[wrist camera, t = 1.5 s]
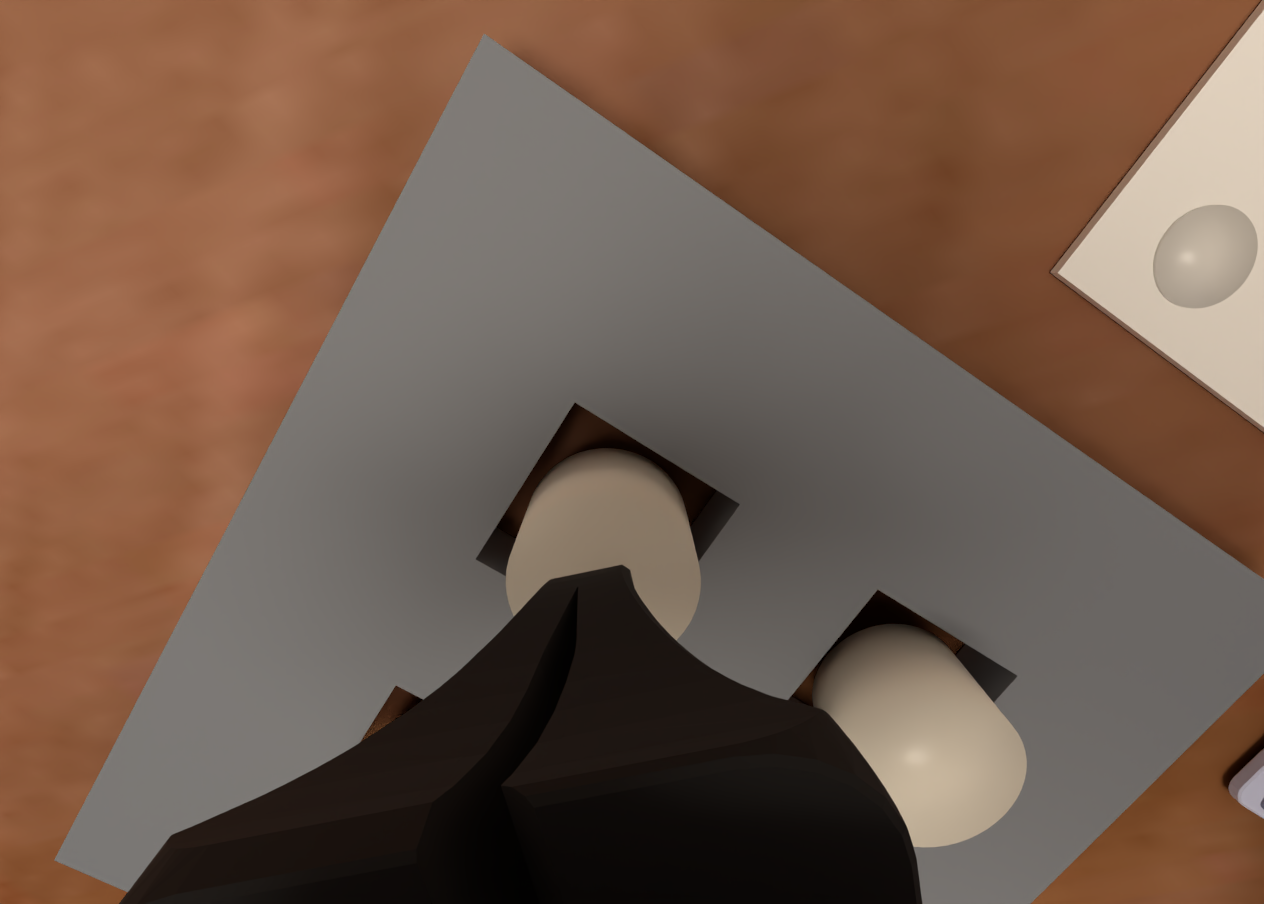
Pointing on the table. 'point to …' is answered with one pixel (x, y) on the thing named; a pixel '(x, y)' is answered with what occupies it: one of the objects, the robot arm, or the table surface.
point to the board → (696, 442)
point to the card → (1192, 234)
